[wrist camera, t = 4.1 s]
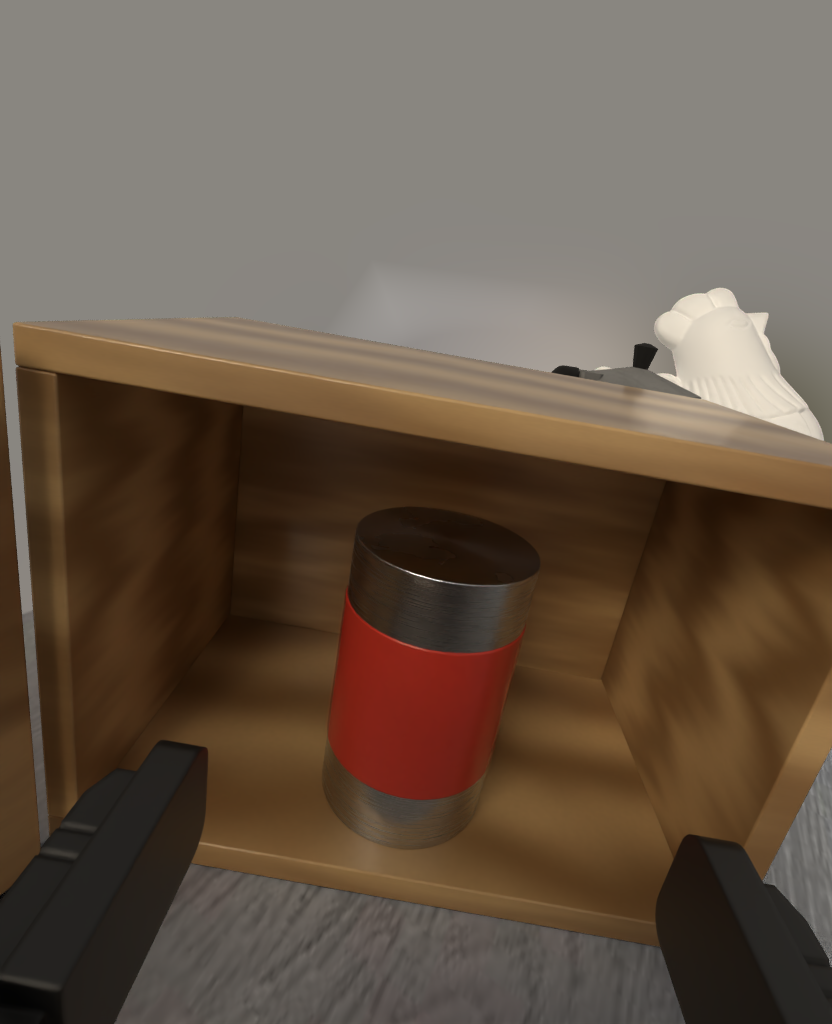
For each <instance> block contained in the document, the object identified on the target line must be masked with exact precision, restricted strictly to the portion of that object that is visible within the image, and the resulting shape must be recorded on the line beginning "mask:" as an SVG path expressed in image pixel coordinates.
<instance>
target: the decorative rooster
mask: <svg viewBox="0 0 832 1024" xmlns="http://www.w3.org/2000/svg"><path fill="white" fill-rule="evenodd" d="M768 316H769V315H768V313H747V314H746V313H745V312H744V311H742V310H741V309H739V306H738V303H737V301H736V298H735V296H734V294H733V293H732V292H731V291H730V290H728V289H725V288H716V289H712V290H710V291H709V292H707V293H706V294H703V293H702V294H701V293H697V294H691V295H688V296H686V297H684V298H682V299H680V300H679V301H678V302H677V303H676V304H675V305H674V306H673V307H672V309H671V311H669V312H666V313H664V314H662V315H661V316H660V317H658V319H657V320H656V322H655V325H654V332H655V335H656V337H657V339H658V340H659V341H660V342H661V343H662V344H663V345H664V346H666V347H667V348H668V349H670V350H671V351H672V354H673V359H674V363H675V368H676V373H677V377H675V376H673V375H671V374H667V373H659V374H657V375H659V376H661V377H663V378H665V379H667V380H669V381H671V382H673V383H674V384H676V385H678V386H680V387H682V388H684V389H686V390H688V391H690V392H692V393H694V394H696V395H698V396H700V397H701V399H703V400H707V401H710V402H713V403H716V404H719V405H722V406H724V407H727V408H730V409H733V410H736V411H739V412H742V413H745V414H747V415H750V416H753V417H756V418H759V419H762V420H765V421H768V422H770V423H773V424H776V425H779V426H782V427H785V428H788V429H791V430H793V431H796V432H799V433H802V434H805V435H808V436H811V437H814V438H816V439H819V440H822V441H824V438H823V433H822V430H821V427H820V425H819V423H818V421H817V419H816V418H815V416H814V415H813V414H812V412H811V411H810V410H809V408H808V405H807V404H806V403H805V401H804V400H803V399H802V398H801V397H800V395H799V394H798V393H797V392H796V391H795V390H794V389H793V388H792V387H791V386H790V385H789V384H788V383H787V382H786V381H785V379H784V378H783V377H782V376H781V375H780V366H779V363H778V360H777V358H776V357H775V355H774V354H773V352H772V350H771V348H770V342H769V340H768V338H767V337H766V336H765V335H764V331H765V327H766V323H767V320H768ZM604 369H611V368H609V367H599V368H596V369H595V370H604Z"/></svg>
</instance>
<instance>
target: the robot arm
mask: <svg viewBox="0 0 832 1024" xmlns="http://www.w3.org/2000/svg"><path fill="white" fill-rule="evenodd" d="M207 774H208V749H207V748H206V747H202V746H197V745H191V744H185V743H179V742H174V741H168V740H160V741H159V742H157V744H156V745H155V746H154V747H153V748H152V750H151V751H150V753H149V754H148V756H147V757H146V759H145V760H144V761H143V763H142V764H141V766H140V767H139V769H138V770H137V771H132V770H127V769H121V768H116V769H115V770H114V771H112V772H111V773H109V774H108V775H107V776H105V777H104V778H103V779H101V780H100V781H98V782H97V783H96V784H94V785H93V786H91V787H90V788H89V789H87V790H86V791H85V792H84V793H83V794H82V795H81V797H80V798H79V799H78V801H77V802H76V803H75V805H74V806H73V807H72V808H71V810H70V811H69V812H68V814H67V815H66V816H65V817H64V819H63V820H62V821H61V825H60V827H59V828H56V829H55V830H54V832H53V833H52V834H51V836H50V837H49V838H48V839H47V841H46V842H45V843H44V845H43V846H42V847H41V850H40V853H39V854H38V855H35V856H34V858H33V859H32V860H31V861H30V863H29V864H28V865H27V867H26V868H25V869H24V871H23V872H22V873H21V874H20V876H19V877H18V878H17V880H16V881H15V882H14V883H13V885H12V886H11V887H10V889H9V890H8V891H7V893H6V894H5V895H4V896H3V898H2V899H1V900H0V1024H114V1023H115V1021H116V1019H117V1016H118V1014H119V1012H120V1010H121V1008H122V1006H123V1004H124V1002H125V1000H126V998H127V996H128V993H129V991H130V989H131V987H132V985H133V983H134V981H135V979H136V977H137V975H138V973H139V970H140V968H141V966H142V964H143V962H144V960H145V958H146V956H147V954H148V952H149V950H150V947H151V945H152V943H153V941H154V939H155V937H156V935H157V933H158V931H159V929H160V927H161V924H162V922H163V920H164V918H165V916H166V914H167V912H168V910H169V908H170V906H171V904H172V901H173V899H174V897H175V895H176V893H177V891H178V889H179V887H180V885H181V883H182V880H183V878H184V876H185V874H186V872H187V870H188V868H189V866H190V864H191V862H192V860H193V857H194V855H195V853H196V850H197V847H198V845H199V841H200V838H201V835H202V831H203V827H204V822H205V814H206V795H207ZM655 921H656V930H657V936H658V940H659V944H660V947H661V950H662V953H663V956H664V959H665V962H666V965H667V968H668V971H669V974H670V977H671V980H672V984H673V987H674V990H675V993H676V996H677V999H678V1002H679V1005H680V1008H681V1011H682V1014H683V1017H684V1020H685V1023H686V1024H832V968H831V967H830V965H829V959H828V957H827V955H826V954H825V952H824V950H823V948H822V947H821V945H820V943H819V942H818V940H817V938H816V936H815V935H814V933H813V931H812V929H811V928H810V926H809V924H808V923H807V921H806V920H805V919H804V918H803V916H802V915H801V914H800V913H799V912H798V911H797V910H796V909H795V908H794V907H793V906H792V904H791V903H790V902H789V901H788V900H787V899H786V898H785V897H784V896H783V895H782V893H781V892H780V891H779V890H778V889H777V888H776V887H775V886H774V885H769V884H764V883H763V882H762V880H761V878H760V876H759V874H758V872H757V871H756V869H755V867H754V865H753V863H752V861H751V860H750V858H749V856H748V854H747V853H746V851H745V850H744V848H743V847H742V846H741V845H740V844H738V843H736V842H733V841H727V840H721V839H716V838H710V837H704V836H699V835H693V834H688V835H686V836H685V837H684V838H683V839H682V841H681V843H680V846H679V848H678V850H677V853H676V855H675V857H674V860H673V862H672V864H671V867H670V869H669V871H668V874H667V876H666V878H665V881H664V883H663V885H662V888H661V890H660V892H659V895H658V898H657V902H656V910H655Z"/></svg>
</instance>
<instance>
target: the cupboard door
mask: <svg viewBox="0 0 832 1024" xmlns="http://www.w3.org/2000/svg"><path fill="white" fill-rule="evenodd" d="M19 586H20V585H19V573H18V560H17V548H16V535H15V523H14V510H13V499H12V486H11V473H10V462H9V448H8V435H7V424H6V411H5V398H4V385H3V373H2V360H1V349H0V895H2V894H3V893H4V892H5V891H7V890H8V889H9V888H10V887H11V886H12V885H13V883H14V882H15V881H16V880H17V878H18V877H19V876H20V874H21V873H22V872H23V871H24V869H25V868H26V867H27V865H28V864H29V863H30V861H31V860H32V859H33V858H34V856H35V855H38V854H39V853H40V850H41V846H40V834H39V821H38V809H37V796H36V784H35V771H34V759H33V747H32V734H31V722H30V709H29V697H28V684H27V672H26V659H25V647H24V634H23V622H22V610H21V597H20V587H19Z"/></svg>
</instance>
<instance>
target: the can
mask: <svg viewBox="0 0 832 1024" xmlns="http://www.w3.org/2000/svg"><path fill="white" fill-rule="evenodd" d="M540 567H541V559H540V556H539V554H538V552H537V551H536V549H535V548H534V547H533V546H532V545H531V544H530V543H529V542H528V541H526V540H525V539H524V538H522V537H521V536H519V535H518V534H516V533H514V532H513V531H511V530H509V529H507V528H505V527H503V526H501V525H498V524H496V523H493V522H491V521H488V520H485V519H482V518H479V517H476V516H473V515H469V514H465V513H461V512H456V511H451V510H445V509H438V508H429V507H395V508H388V509H383V510H379V511H376V512H373V513H370V514H368V515H366V516H365V517H364V518H362V519H361V520H360V522H359V523H358V524H357V527H356V531H355V539H354V546H353V553H352V560H351V567H350V575H349V582H348V585H347V588H346V592H345V599H344V607H343V614H342V621H341V628H340V636H339V643H338V650H337V657H336V665H335V672H334V679H333V686H332V693H331V701H330V708H329V715H328V723H327V740H326V747H325V754H324V761H323V768H322V786H323V790H324V794H325V797H326V799H327V801H328V804H329V805H330V807H331V809H332V810H333V812H334V813H335V814H336V816H337V817H338V818H339V819H340V820H341V821H342V822H343V823H344V824H345V825H346V826H347V827H348V828H349V829H351V830H352V831H354V832H355V833H356V834H358V835H360V836H362V837H363V838H365V839H367V840H369V841H372V842H374V843H377V844H380V845H383V846H387V847H391V848H397V849H412V850H413V849H424V848H429V847H433V846H437V845H439V844H442V843H445V842H447V841H448V840H450V839H452V838H454V837H455V836H456V835H458V834H459V833H460V832H462V831H463V829H464V828H465V827H466V826H467V825H468V824H469V822H470V821H471V820H472V818H473V816H474V814H475V811H476V808H477V805H478V801H479V797H480V793H481V789H482V786H483V782H484V778H485V774H486V771H487V768H488V766H489V764H490V761H491V757H492V754H493V750H494V746H495V742H496V739H497V735H498V731H499V727H500V724H501V720H502V716H503V712H504V709H505V705H506V701H507V697H508V693H509V690H510V686H511V682H512V678H513V675H514V671H515V667H516V663H517V660H518V656H519V652H520V648H521V645H522V641H523V637H524V633H525V629H526V620H527V616H528V612H529V608H530V604H531V601H532V597H533V593H534V589H535V586H536V582H537V578H538V574H539V570H540Z"/></svg>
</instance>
